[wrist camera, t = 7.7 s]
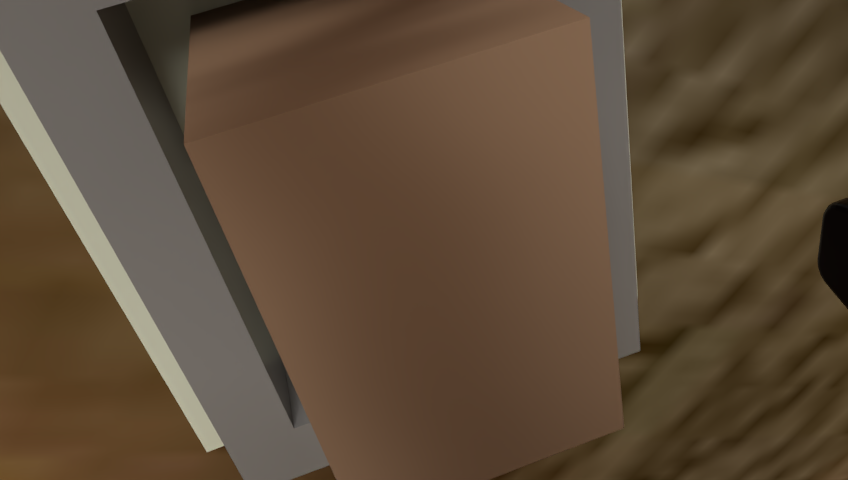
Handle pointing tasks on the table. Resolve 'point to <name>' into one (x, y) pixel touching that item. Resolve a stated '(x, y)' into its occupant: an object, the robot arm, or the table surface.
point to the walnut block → (417, 222)
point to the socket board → (209, 206)
